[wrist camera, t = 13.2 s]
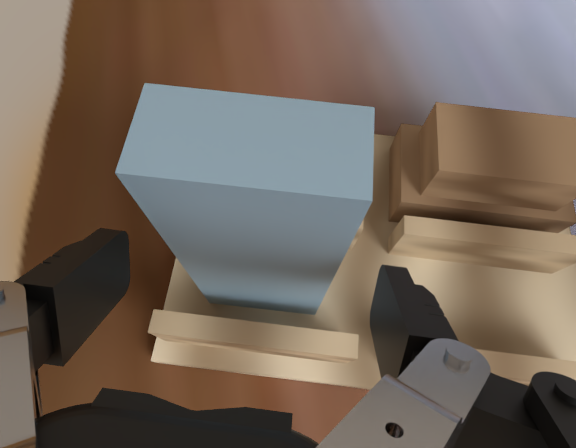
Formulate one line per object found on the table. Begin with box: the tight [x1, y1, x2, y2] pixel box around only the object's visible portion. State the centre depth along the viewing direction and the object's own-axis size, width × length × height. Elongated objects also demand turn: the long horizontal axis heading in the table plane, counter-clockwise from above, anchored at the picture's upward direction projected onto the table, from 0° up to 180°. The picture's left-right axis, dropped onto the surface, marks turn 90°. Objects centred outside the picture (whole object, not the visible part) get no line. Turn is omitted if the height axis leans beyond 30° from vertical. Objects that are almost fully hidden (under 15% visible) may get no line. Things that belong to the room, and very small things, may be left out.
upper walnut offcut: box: [419, 102, 576, 211], centre depth 20 cm, size 7×4×2 cm, turn 83°
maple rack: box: [148, 134, 576, 390], centre depth 21 cm, size 22×15×4 cm
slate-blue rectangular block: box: [115, 83, 375, 315], centre depth 15 cm, size 6×2×13 cm, turn 84°
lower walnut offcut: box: [388, 124, 576, 233], centre depth 22 cm, size 9×5×2 cm, turn 83°
